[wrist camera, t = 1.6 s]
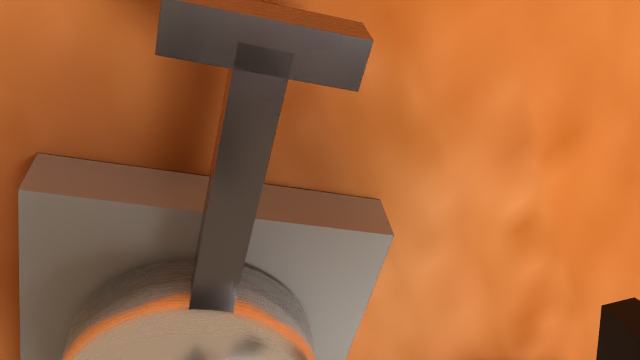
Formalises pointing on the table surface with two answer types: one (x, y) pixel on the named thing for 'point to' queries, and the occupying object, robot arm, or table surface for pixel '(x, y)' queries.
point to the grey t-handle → (225, 194)
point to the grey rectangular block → (184, 245)
